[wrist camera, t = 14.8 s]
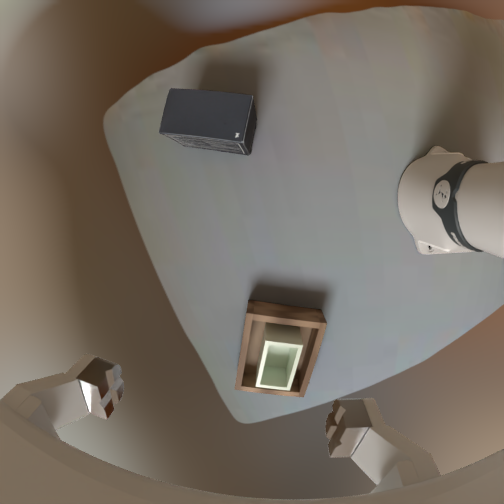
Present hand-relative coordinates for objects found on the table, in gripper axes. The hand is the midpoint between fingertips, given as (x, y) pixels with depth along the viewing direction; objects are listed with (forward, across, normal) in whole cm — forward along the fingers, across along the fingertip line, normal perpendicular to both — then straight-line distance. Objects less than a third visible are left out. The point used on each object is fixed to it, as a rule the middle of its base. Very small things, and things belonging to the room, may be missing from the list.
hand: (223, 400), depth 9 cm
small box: (+34, +8, -15) cm, 38 cm away
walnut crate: (+34, -6, +18) cm, 39 cm away
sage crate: (+33, -6, +18) cm, 38 cm away
